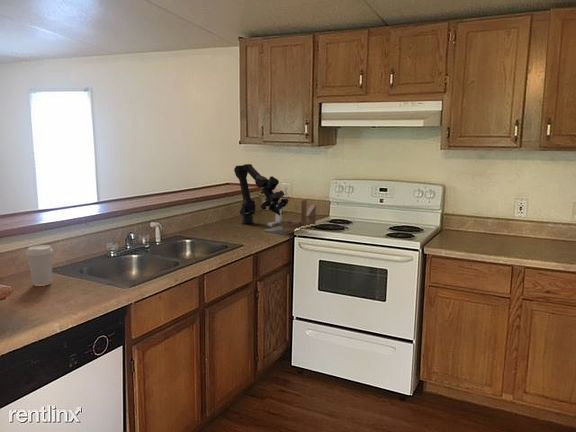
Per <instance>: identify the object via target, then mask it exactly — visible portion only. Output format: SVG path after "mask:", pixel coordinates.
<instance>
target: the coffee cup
mask: <svg viewBox="0 0 576 432" xmlns="http://www.w3.org/2000/svg"><path fill="white" fill-rule="evenodd" d="M53 253H54V249H53V248H52V246H50V245H46V244H44V245H43V244H42V245H41V244H40V245H34V246H30V247H28V248H27V250H26V252H25V255H26V256H27V258H28V263H29V264H28V265H29V269H30V275H31V280H32V284H33V283H35V284H43V283H48V282H50V281H52V282H53V278H52V277H53Z"/></svg>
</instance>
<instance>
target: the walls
mask: <svg viewBox="0 0 576 432" xmlns="http://www.w3.org/2000/svg"><path fill="white" fill-rule="evenodd" d="M279 226H283V233H287V232H290V231H294V230H295V229H296V228H299V227H301V221H295V220H287V219H282V225H279Z"/></svg>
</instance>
